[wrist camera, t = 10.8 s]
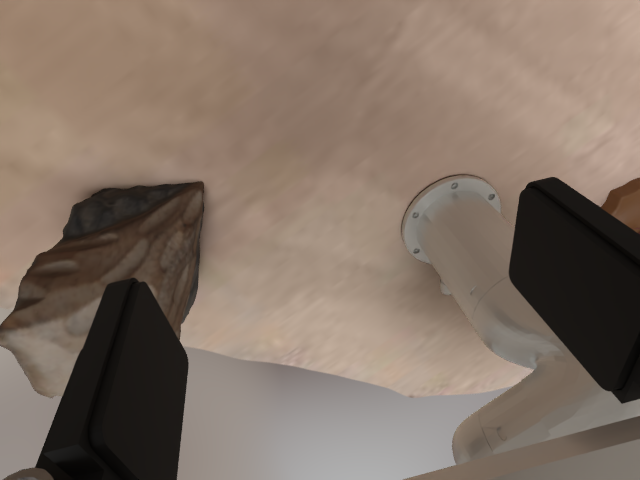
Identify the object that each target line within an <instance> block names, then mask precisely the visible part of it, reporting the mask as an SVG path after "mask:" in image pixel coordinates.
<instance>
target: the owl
mask: <svg viewBox="0 0 640 480" xmlns="http://www.w3.org/2000/svg"><path fill="white" fill-rule="evenodd" d="M203 189H204V184H203V182H195V183H184V184H175V185H171V184H164V185H159V186H155V187H146V186H136V187H133V188H130V189H125V190H122V189H116V188H108V189H103V190H101V191H99V192H98V193H95V194H93V195H92V197H91V198H88V199H86V200H84V201H82V202H80V203H77V204H75V205H74V206H73V207H72V210H71V214H70V218H69V221H68V223H67V224H66V226H65V227H64V229H63V238H62V239H61V240H60V241H59V242H58V243H57V244H56V245H55V246H54V247H53V248H52V249H50V250H48V251H47V252H43V253H40V254H39V255H37V256H36V258H35V260H34V262H33V263H32V266H31V267H30V268H29V269H28V270H27V273H26V275H25V276H24V277H23V278H22V280H21V283H20V286H19V292H18V299H17V302H16V305H15V308H14V310H13V312H12V313H11V314H10V315H9V316H8V317H7V318H6V319H5V320H4V321H3V322H2V324H1V325H0V346H2V347H4V348H6V349H8V350H10V351H11V352H12V353H13V354H14V356H15V357H16V359H17V361H18V363H19V364H20V366H21V367H22V369H23V371H24V373H25V374H26V376H27V377H28V379H29V381H30V383H31V385H32V387H33V389H34V390H35V391H36V392H37V393H39V394H41V395H43V396H46V397H49V398H53V397H54V396H63V394H64V391H65V388H66V386H67V383H68V381H69V378H70V375H71V373H72V370H73V367H74V365H75V362H76V360H77V357H78V355H79V353H80V351H81V350H82V349H83V346H84V343H85V341H86V338H87V336H88V333H89V330H90V328H91V325H92V322H93V320H94V317H95V314H96V312H97V309H98V306H99V304H100V301H101V299H102V296H103V293H104V291H105V288H106V286H107V284H109V283H112V282H116V281H120V280H124V279H129V278H136V279H137V280H138V281H139V282H142V281H144V282H146V283H147V285H148V286H149V288H150V290H151V291H152V293H153V295H154V297H155V298H156V300H157V302H158V304H159V305H160V307H161V309H162V311H163V313H164V314H165V316H166V318H167V320H168V321H169V323H170V325H171V327H172V328H173V330H174V332H175V334H176V336H177V337H178V339H179V340H180V332H181V324H182V323H183V322H184V320H185V318H186V316H187V315H188V314H189V311H190V308H191V307H192V305H193V303H194V301H195V297H196V294H197V289H198V268H199V258H200V249H199V238H200V232H201V228H202V217H203V212H204V202H203V193H204V190H203Z"/></svg>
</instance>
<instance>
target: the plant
mask: <svg viewBox="0 0 640 480" xmlns="http://www.w3.org/2000/svg"><path fill="white" fill-rule="evenodd" d="M601 208H602V209H603V210H605V211H606V212H608V213H609V214H611V215H612V216H614V217H615V218H617V219H618V220H619V221H621V222H622V223H624V224H625V225H627V226H628V227H630V228H631V229H633V230H634V231H636V232H637V233H638V234H640V178H637V179H634V180H632V181H630V182H628V183H627V184H625V185H623V186H621V187H619V188H616V189H614V190H611V191H610V193H609V195H608V198H607V200H606V202H605V203H604V204H603V205H602V207H601Z"/></svg>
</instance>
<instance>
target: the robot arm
mask: <svg viewBox="0 0 640 480" xmlns="http://www.w3.org/2000/svg"><path fill="white" fill-rule="evenodd" d="M402 238H403V241H404V244H405V246H406V248H407V249H408V251H409V252H410V253H411V254H412V255H413V256H414V257H415V258H416V259H418V260H420V261H422V262H425V263H428V264H432V265H433V266H434V268H435V270H436V271H437V273H438V274H439V276H440V277H441V280H440V291H441V293H443V294H444V295H452V296H453V297H454V299H455V300H456V302H457V303H458V305H459V306H460V308H461V310H462V311H463V313H464V314H465V316H466V317H467V319H468V320H469V322H470V323H471V325H472V326H473V328H474V329H475V331H476V332H477V334H478V335H479V337H480V338H481V340H482V341H483V342H484V344H485V345H486V346H487V347H488V348H489V349H490V350H491V351H493V352H494V353H495V354H497V355H498V356H500V357H501V358H504V359H506V360H508V361H510V362H512V363H515V364H518V365H521V366H524V367H527V368H531V369H534V371H533V372H532V373H531V374H529V375H528V376H527V377H525V378H524V379H522V380H521V382H519V383H518V384H516V385H515V386H513V387H512V388H510V389H509V390H507V391H506V392H505V393H503V394H501V395H500V396H498V397H497V398H495V399H494V400H492V401H491V402H489V403H488V404H486V405H485V406H483V407H482V408H480V409H479V410H478V411H476V412H475V413H473V414H472V415H471V416H469V417H468V418H467V419H465V420H464V421H463V422H462V423H461V424H460V425H459V427H458V428H457V429H456V431H455V433H454V436H453V441H452V450H453V456H454V460H455V463H456V465H455V466H451V467H447V468H444V469H440V470H436V471H433V472H429V473H425V474H422V475H418V476H414V477H411V478H407V479H403V480H640V234H638V233H637V232H636V231H634V230H633V229H631V228H630V227H628V226H627V225H625V224H624V223H622V222H621V221H619V220H618V219H617V218H615V217H614V216H612V215H611V214H609V213H608V212H606V211H605V210H603V209H602V208H600V207H599V206H597V205H596V204H595V203H593V202H592V201H590V200H589V199H587V198H586V197H584V196H583V195H581V194H580V193H578V192H577V191H575V190H574V189H573V188H571V187H570V186H568V185H567V184H565V183H564V182H562V181H561V180H559V179H558V178H555V177H550V178H546V179H542V180H537V181H533V182H530V183H528V184H527V186H526V188H525V190H523V191H522V192H521V193H520V197H519V204H518V211H517V217H516V224H515V227H514V226H513V225H512V224H511V223H509V222H508V221H507V220H506V219H505V218H504V217H503V216H502V215H501V202H500V198H499V196H498V194H497V192H496V190H495V189H494V188H493V187H492V186H491V185H489V184H488V183H487V182H486V181H484V180H483V179H480V178H478V177H475V176H469V175H458V176H453V177H448V178H445V179H443V180H440V181H438V182H436V183H434V184H432V185H431V186H429V187H428V188H426V189H425V190H424V191H423V192H421V193H420V194H419V195H418V196H417V197H416V198H415V199H414V201H413V202H412V204H411V205H410V206H409V208H408V210H407V212H406V214H405V216H404V219H403V223H402ZM187 375H188V357H187V354H186V352H185V350H184V348H183V346H182V344H181V343H180V341H179V339H178V337H177V336H176V334H175V332H174V330H173V328H172V327H171V325H170V323H169V321H168V320H167V318H166V316H165V314H164V313H163V311H162V309H161V307H160V305H159V304H158V302H157V300H156V298H155V297H154V295H153V293H152V291H151V290H150V288H149V286H148V285H147V283H146V282H144V281H142V282H139V281H138V280H137V279H136V278H129V279H124V280H120V281H116V282H112V283H109V284H107V286H106V288H105V291H104V293H103V296H102V299H101V301H100V304H99V306H98V309H97V312H96V314H95V317H94V320H93V322H92V325H91V328H90V330H89V333H88V336H87V338H86V341H85V343H84V346H83V349H82V350H81V351H80V353H79V355H78V357H77V360H76V362H75V365H74V367H73V370H72V373H71V375H70V378H69V381H68V383H67V386H66V388H65V391H64V394H63V396H62V399H61V402H60V404H59V407H58V409H57V412H56V415H55V417H54V420H53V422H52V425H51V428H50V430H49V433H48V435H47V438H46V441H45V443H44V446H43V448H42V451H41V454H40V456H39V459H38V462H37V464H36V467H35V468H29V469H23V470H20V471H18V472H16V473H13V474H11V475H9V476H7V477H6V478H4V479H3V480H177V471H178V461H179V451H180V441H181V432H182V422H183V413H184V403H185V394H186V384H187Z"/></svg>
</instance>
